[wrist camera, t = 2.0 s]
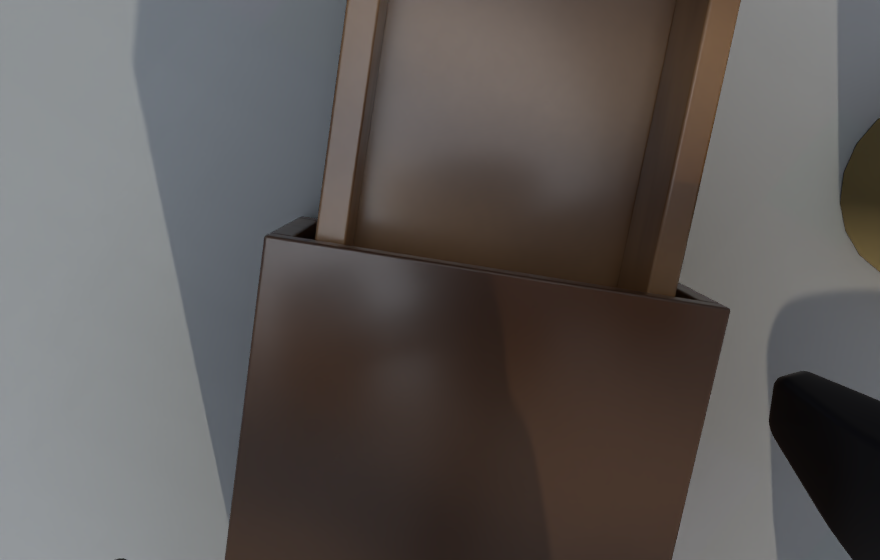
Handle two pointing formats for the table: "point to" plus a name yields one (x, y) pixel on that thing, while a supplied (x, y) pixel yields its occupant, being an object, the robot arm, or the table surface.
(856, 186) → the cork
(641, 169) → the drawer
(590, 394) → the cabinet
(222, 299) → the table surface
